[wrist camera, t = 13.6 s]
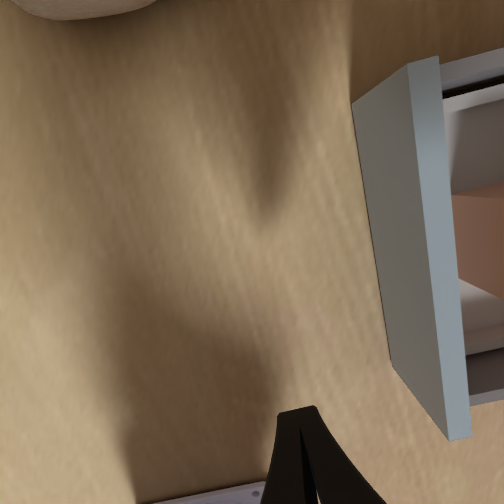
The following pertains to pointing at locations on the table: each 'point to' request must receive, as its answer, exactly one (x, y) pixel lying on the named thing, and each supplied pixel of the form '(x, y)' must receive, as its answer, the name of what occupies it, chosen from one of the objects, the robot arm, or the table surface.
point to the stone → (79, 8)
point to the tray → (429, 228)
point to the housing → (500, 360)
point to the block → (480, 237)
